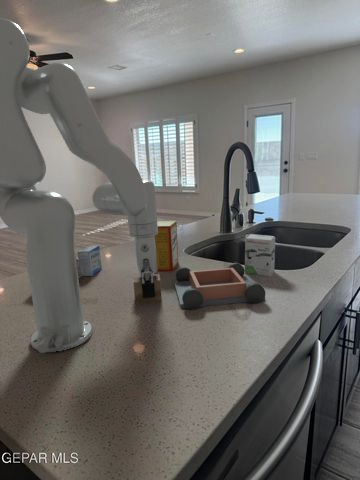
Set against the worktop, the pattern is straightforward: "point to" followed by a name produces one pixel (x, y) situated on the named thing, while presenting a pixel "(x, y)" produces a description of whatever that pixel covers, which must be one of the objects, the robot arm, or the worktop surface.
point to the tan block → (138, 289)
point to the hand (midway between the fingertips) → (148, 290)
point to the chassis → (216, 287)
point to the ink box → (259, 254)
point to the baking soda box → (166, 246)
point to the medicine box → (90, 260)
